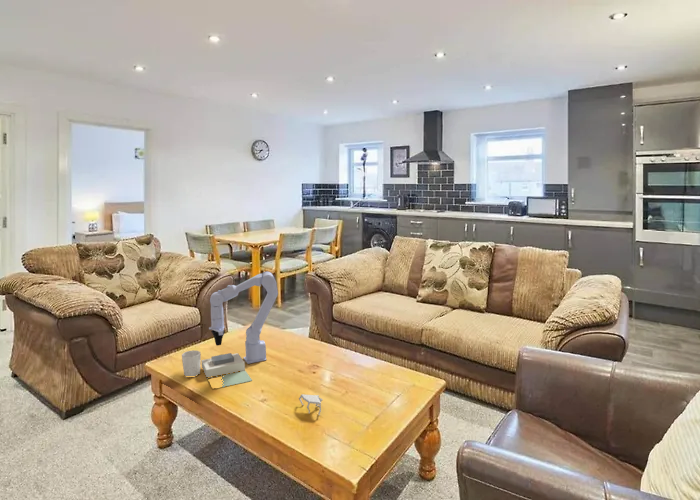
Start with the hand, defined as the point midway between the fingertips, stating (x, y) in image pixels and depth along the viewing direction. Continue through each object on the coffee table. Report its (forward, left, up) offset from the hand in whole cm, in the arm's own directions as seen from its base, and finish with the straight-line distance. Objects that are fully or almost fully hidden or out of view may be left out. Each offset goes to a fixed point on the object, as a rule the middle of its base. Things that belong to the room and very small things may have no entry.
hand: (218, 344), depth 200 cm
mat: (0, +21, -9) cm, 22 cm away
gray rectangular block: (0, +8, -5) cm, 9 cm away
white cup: (+13, +7, -9) cm, 18 cm away
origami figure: (-22, +60, -10) cm, 64 cm away
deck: (0, +8, -9) cm, 12 cm away
